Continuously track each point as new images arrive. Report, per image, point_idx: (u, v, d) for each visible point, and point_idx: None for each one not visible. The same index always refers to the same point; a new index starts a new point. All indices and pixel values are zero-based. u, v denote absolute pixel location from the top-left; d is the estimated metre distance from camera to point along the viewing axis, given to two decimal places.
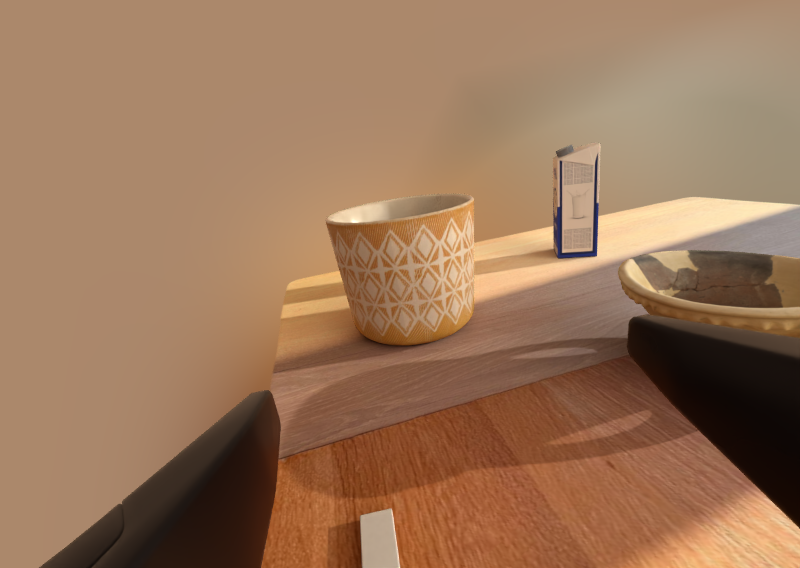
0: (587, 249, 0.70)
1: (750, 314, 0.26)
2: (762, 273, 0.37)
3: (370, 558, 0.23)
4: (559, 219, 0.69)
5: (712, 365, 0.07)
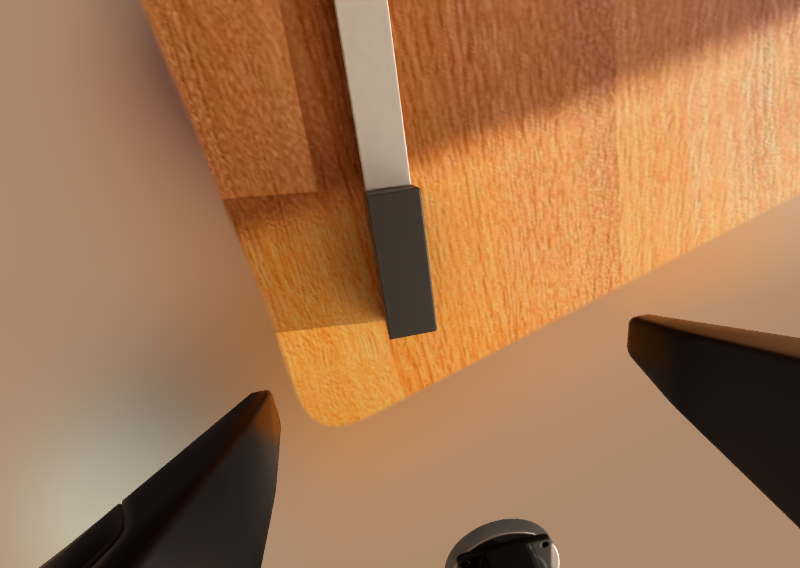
0: None
1: None
2: None
3: (350, 20, 0.16)
4: None
5: (712, 365, 0.07)
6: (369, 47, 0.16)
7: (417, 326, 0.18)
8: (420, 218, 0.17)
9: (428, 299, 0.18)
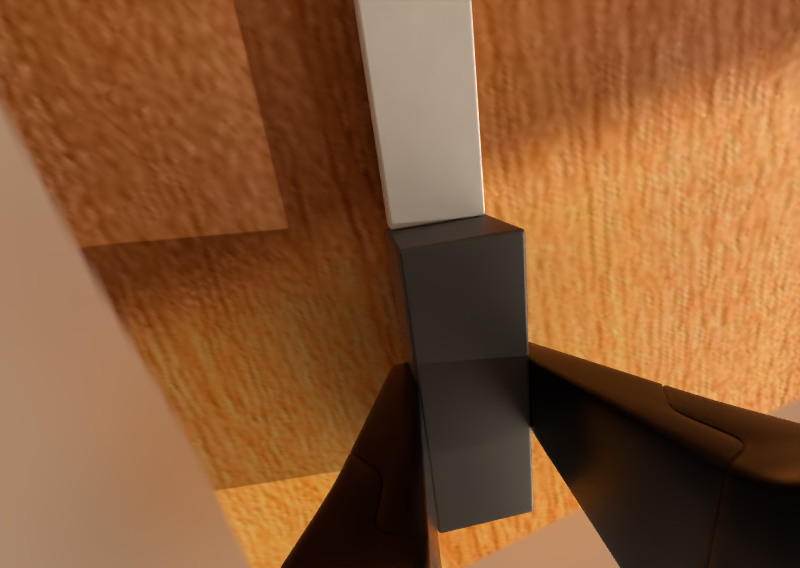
0: None
1: None
2: None
3: None
4: None
5: (554, 399, 0.07)
6: None
7: (495, 506, 0.09)
8: (521, 298, 0.07)
9: (521, 458, 0.08)
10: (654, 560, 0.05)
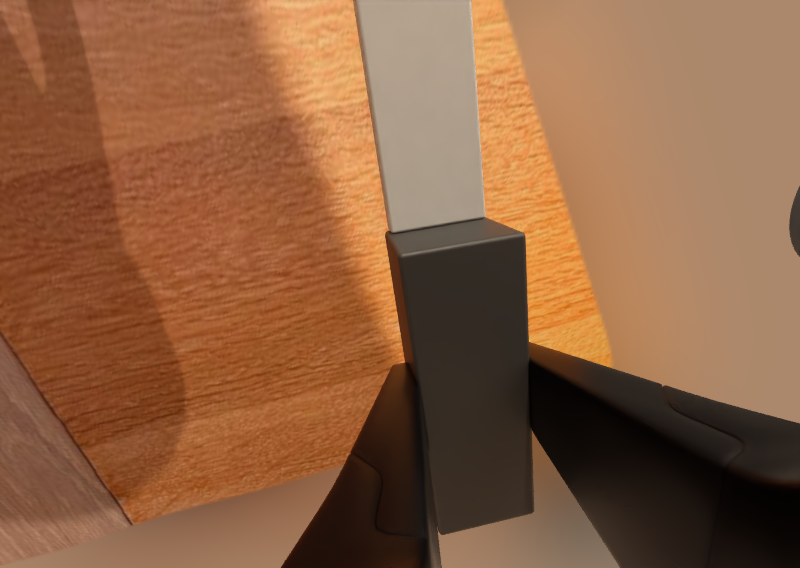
0: None
1: None
2: None
3: None
4: None
5: (554, 399, 0.07)
6: None
7: (496, 508, 0.09)
8: (521, 301, 0.07)
9: (522, 461, 0.09)
10: (654, 560, 0.05)
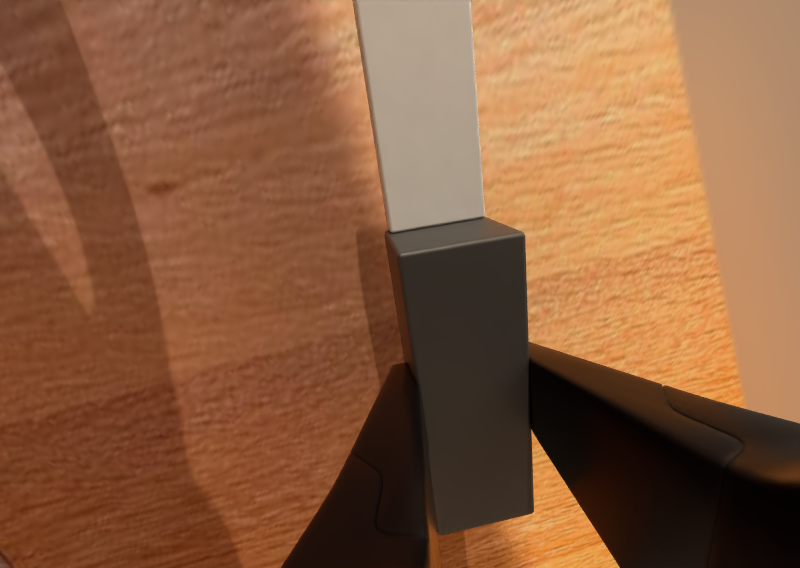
0: None
1: None
2: None
3: None
4: None
5: (554, 399, 0.07)
6: None
7: (496, 509, 0.09)
8: (521, 301, 0.07)
9: (522, 461, 0.09)
10: (654, 560, 0.05)
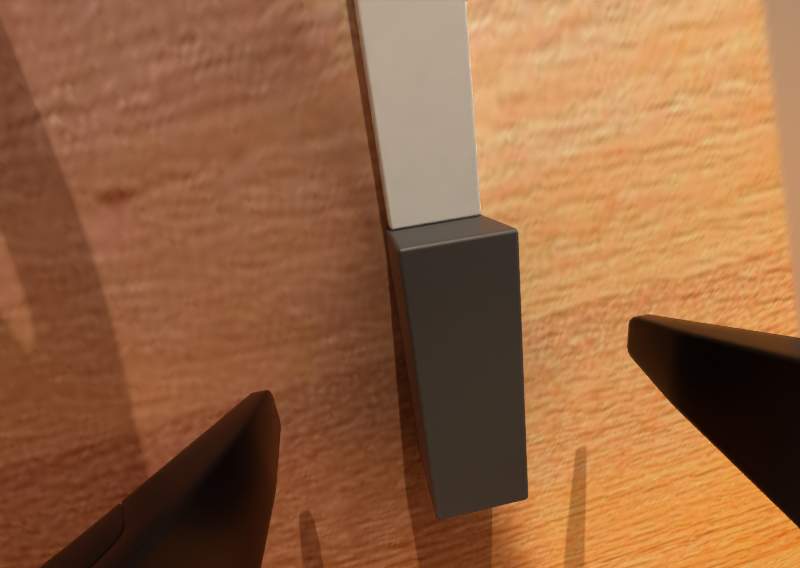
0: None
1: None
2: None
3: None
4: None
5: (712, 365, 0.07)
6: None
7: (492, 494, 0.09)
8: (514, 294, 0.08)
9: (516, 448, 0.09)
10: None
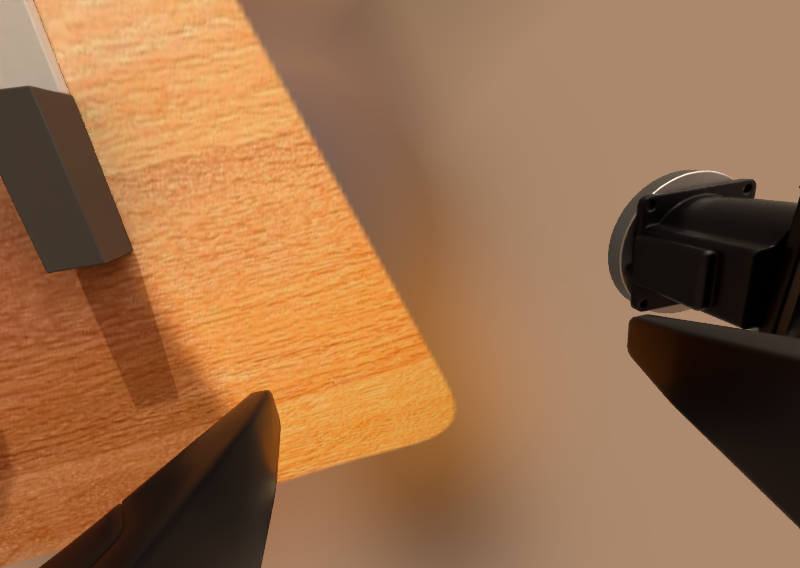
0: None
1: None
2: None
3: None
4: None
5: (712, 365, 0.07)
6: None
7: (77, 257, 0.16)
8: (40, 123, 0.14)
9: (81, 225, 0.16)
10: None
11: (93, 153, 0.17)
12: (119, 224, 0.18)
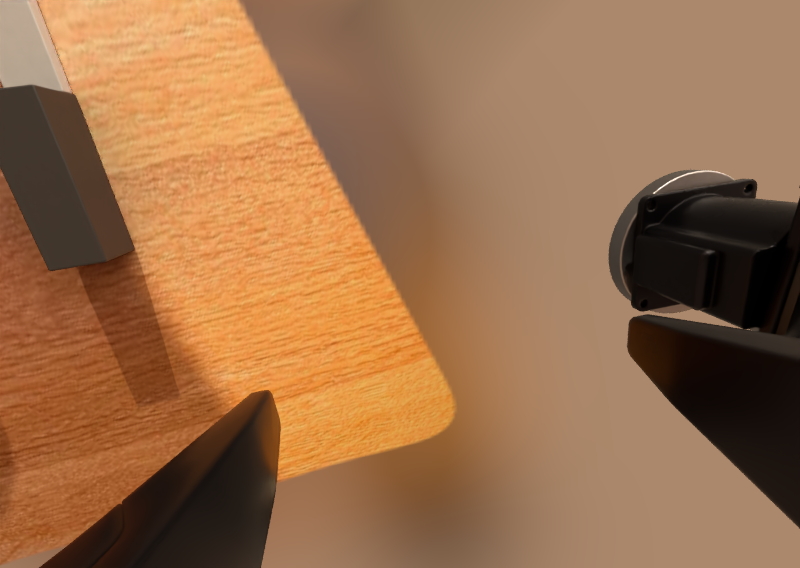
0: None
1: None
2: None
3: None
4: None
5: (712, 365, 0.07)
6: None
7: (78, 255, 0.16)
8: (43, 122, 0.14)
9: (83, 223, 0.16)
10: None
11: (95, 152, 0.17)
12: (121, 223, 0.18)
